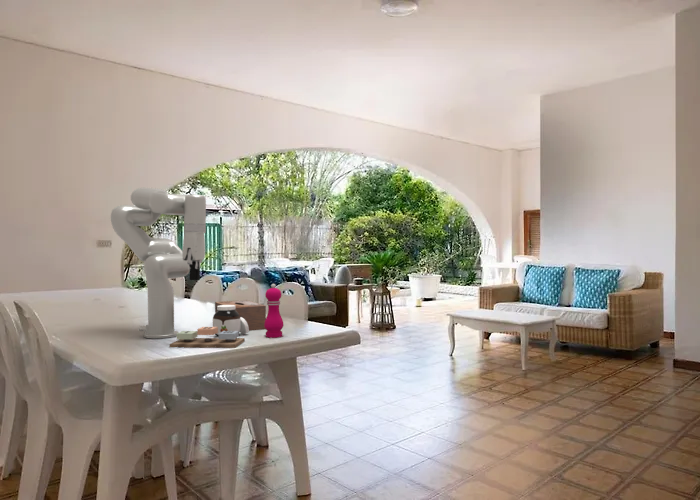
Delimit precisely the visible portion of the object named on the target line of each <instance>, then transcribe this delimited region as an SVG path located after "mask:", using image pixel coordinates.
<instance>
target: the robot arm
mask: <svg viewBox="0 0 700 500" xmlns="http://www.w3.org/2000/svg"><path fill="white" fill-rule="evenodd" d="M206 200H207V199H206V196H205V195H202V194H176V193H167V191H166V190H164V189H163V188H156V187H155V188H153V187H138V188H136V189H134V190H133V191H132V193H131V195H130V201H131V203H132V204H123V205H122V204H120V205H117V206H116V207H114V208H113V209H112V210H111V212H110V221H111V222H110V223H111V227H112V229H113V230H114V232H115V234H116V235H117V236H118V237H119V238H120V239H121V240H122V241H123V242H124V243H126V245H127V246H128V247H129V249H130V250H131V251H132V252H133V254H134V255H135V256H136V257H137V258H138V260H140V262H141V261H142V262H144V264H143V265H144V266H143V267H144V268H143V269H144V273H145V278H146V287H147V288H146V290H147V324H146V325H139V326H138V331H139V332H144V333H143V337H144V338H146V339H169V338H174V337H177V333H179V332H180V331H178V330H175V295H174V294H175V290H174V287H173V285H172V283H171V281H170V280H169V279H178V278H183V277H186V276H188V275H189V281H199V280H200V277H201V276H200V275H201V264H202V262H203V260H205V258H206V238H205V234H206V232H207V231H206V228H207V225H206V223H207V220H206V218H207V213H206V212H207V207H206V206H207V201H206ZM162 215H169V216H170V215H171V216H173V215H174V216H183V227H184V228H183V233H184V234H183V242H182V249H181V248H180V247H179V245H177V243H176V242H175V241H173V240H171V239H170V238H161V237H160V238H157V237H156V238H155V237H151V236H149V234H148V233H147V232H146V231H145V230H144V229H143V228H141V227H148V226H152V225H154V224H155V223H156V222H157V220H159V218H160V217H161V216H162Z"/></svg>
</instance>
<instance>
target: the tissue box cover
mask: <svg viewBox="0 0 700 500" xmlns="http://www.w3.org/2000/svg"><path fill="white" fill-rule="evenodd" d="M220 305H235V308H236V309H235V310H236V311H237V312H238V313H239V315H240V317H242V318H244V319H245V321H246V322H247V324H248V327H249V332H252V331H261V330H262V331H263V330H264V331H265V330H266V328H265V327H264V323H265V320H266V317H267V305H265V304H261V303H258V302H256V301H252V300H248V299H239V300H226V301H225V300H223V301H214V314H215V313H216V312H217V311H218V310H217V306H220Z"/></svg>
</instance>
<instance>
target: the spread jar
mask: <svg viewBox="0 0 700 500" xmlns="http://www.w3.org/2000/svg"><path fill="white" fill-rule="evenodd" d="M235 309H236V308H235V305H220V306H217V310H218V311H217V312H216V313H215V312H214V314H213V317H212V327H218V333H216V334H214V336H216V338H219V333H221V332H223V331H239V333H241V334H242V335H247V334H248V333H249V332H250V331H249V327H248V324H247V322H246V321H245V319H244V318H242V317H240V315H239V313H238V312H237V311H236V310H235Z"/></svg>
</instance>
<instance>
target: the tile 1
mask: <svg viewBox="0 0 700 500" xmlns="http://www.w3.org/2000/svg"><path fill="white" fill-rule="evenodd" d="M178 332H179V333H177V336H176V340H179V339H194V338H199V337H198V336H199V335H198V332H197V330H182V331H178Z"/></svg>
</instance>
